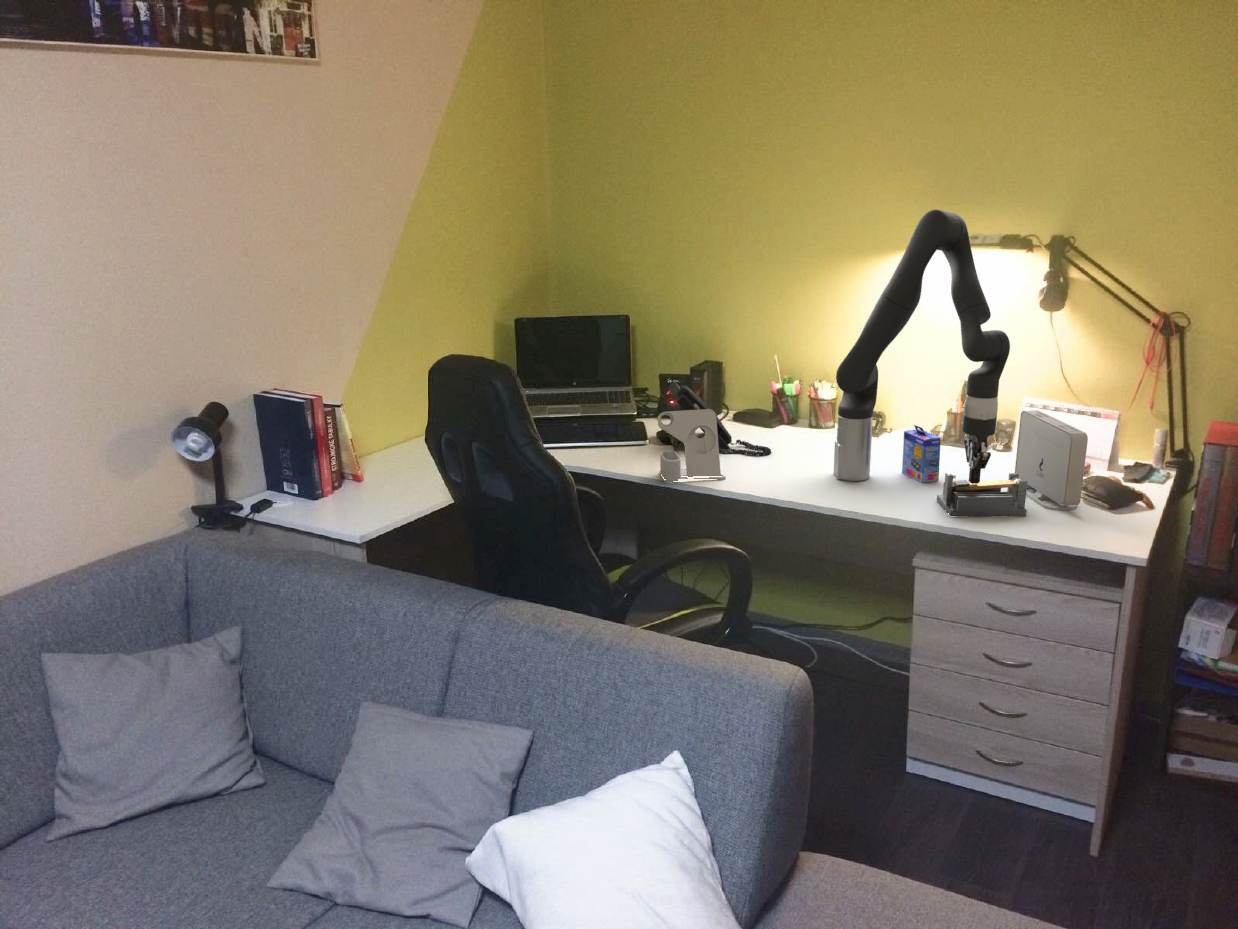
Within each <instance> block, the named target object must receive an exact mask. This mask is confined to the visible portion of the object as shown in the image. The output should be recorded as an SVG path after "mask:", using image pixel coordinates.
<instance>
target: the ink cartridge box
mask: <svg viewBox="0 0 1238 929" xmlns="http://www.w3.org/2000/svg"><path fill="white" fill-rule="evenodd" d="M913 426H914V429H908V430H904V431H903V446H902V463H901V464H902V465H901V467H902V468H901V473H902V474H904V475H905V476H908V477H909V476H910V478H912V479H914V480H915V479H916V480H915V481H917V480H918V482H919V483H931V482H938V481H939V477H940V459H941V458H940V457H941V441H942V440H941V437H940V436H938V435H935V434H932V433H929V432H928V431H925V430H924V428H923V427H921V426H918V425H916V424H914V425H913Z"/></svg>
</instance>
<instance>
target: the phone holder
mask: <svg viewBox="0 0 1238 929" xmlns="http://www.w3.org/2000/svg"><path fill="white" fill-rule="evenodd" d="M664 416H668V417H669V418H670V422H669V423H668V424H664V423H663V422H662V417H664ZM716 416H717V414H716V412H715V411H714V410H713V409H711V408H710V409H700V410H684V411H679V410H672V411H671V410H670V411H663V412H661V413H660V414H658V417H657V425H658V427H659V429H661V430H662V431H664V432H665V433H667V434H668V433H669V434H670V435H672V436H673V437H675V438H677V439H678V440H679V442H682V444H683V445H684V454H685V455H684V456H685V458H684V459H685V468H681V457H680V456H679V455H678V454H677V452H676V451H674V450H673V451H672V450H664V451H662V452H660V453H659V454H660V455H659V456H660V457H659V458H660V463H659V464H660V471H659V473H660V472H661V474H662V476H663V477H664V479H666V480H665V481H666V482H665V481H664V482H665V483H666V484H671V483H670V482H673V481H678V479H688V478H687V477H681V476H688V477H693V476H722V477H709V478H694V479H724V478H726V477H727V476H726V474H725V473H724V472H723V471H722V469H721V460H720V452H719V446H718V432H717V419H716ZM700 428H702V429H704V431H705V433H704V436H702V437H698V436H697V435H696V431H697V430H698V429H700ZM724 480H725V479H724Z"/></svg>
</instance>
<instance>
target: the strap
mask: <svg viewBox="0 0 1238 929" xmlns="http://www.w3.org/2000/svg"><path fill="white" fill-rule="evenodd" d="M1018 480H1020V479H1019V478H1017V477H1013V478H1012V479H1011V480H1008V479H1002V480H987V481H986V480H985V481H980V482H979V483H978V484H972V483H971V482H970V483H968V482H969V481H968V480H967V479H962V480H953V482H954V488H955V489H956V490H957V491H963V490H978V489H993V488H1001V489H1005V488H1007V489H1008V487H1017V481H1018Z"/></svg>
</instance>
